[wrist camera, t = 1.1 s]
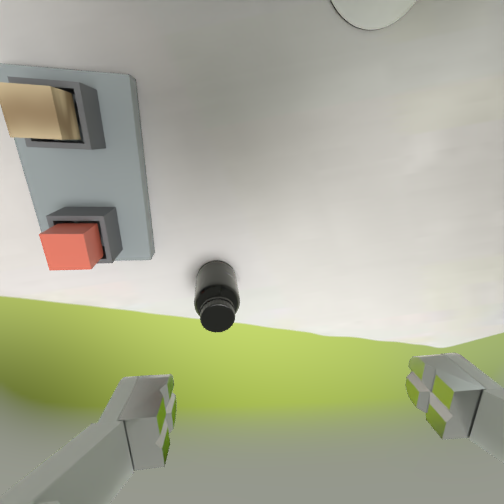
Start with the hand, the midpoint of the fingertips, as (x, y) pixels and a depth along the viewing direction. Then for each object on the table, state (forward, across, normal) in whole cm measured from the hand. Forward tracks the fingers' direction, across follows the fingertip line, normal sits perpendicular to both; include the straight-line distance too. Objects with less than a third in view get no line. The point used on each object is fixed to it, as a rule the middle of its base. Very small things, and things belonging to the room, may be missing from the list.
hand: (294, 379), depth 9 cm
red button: (+26, +21, +1) cm, 34 cm away
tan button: (+25, +20, -13) cm, 34 cm away
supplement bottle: (+36, +5, +10) cm, 38 cm away
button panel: (+33, +21, -7) cm, 40 cm away
